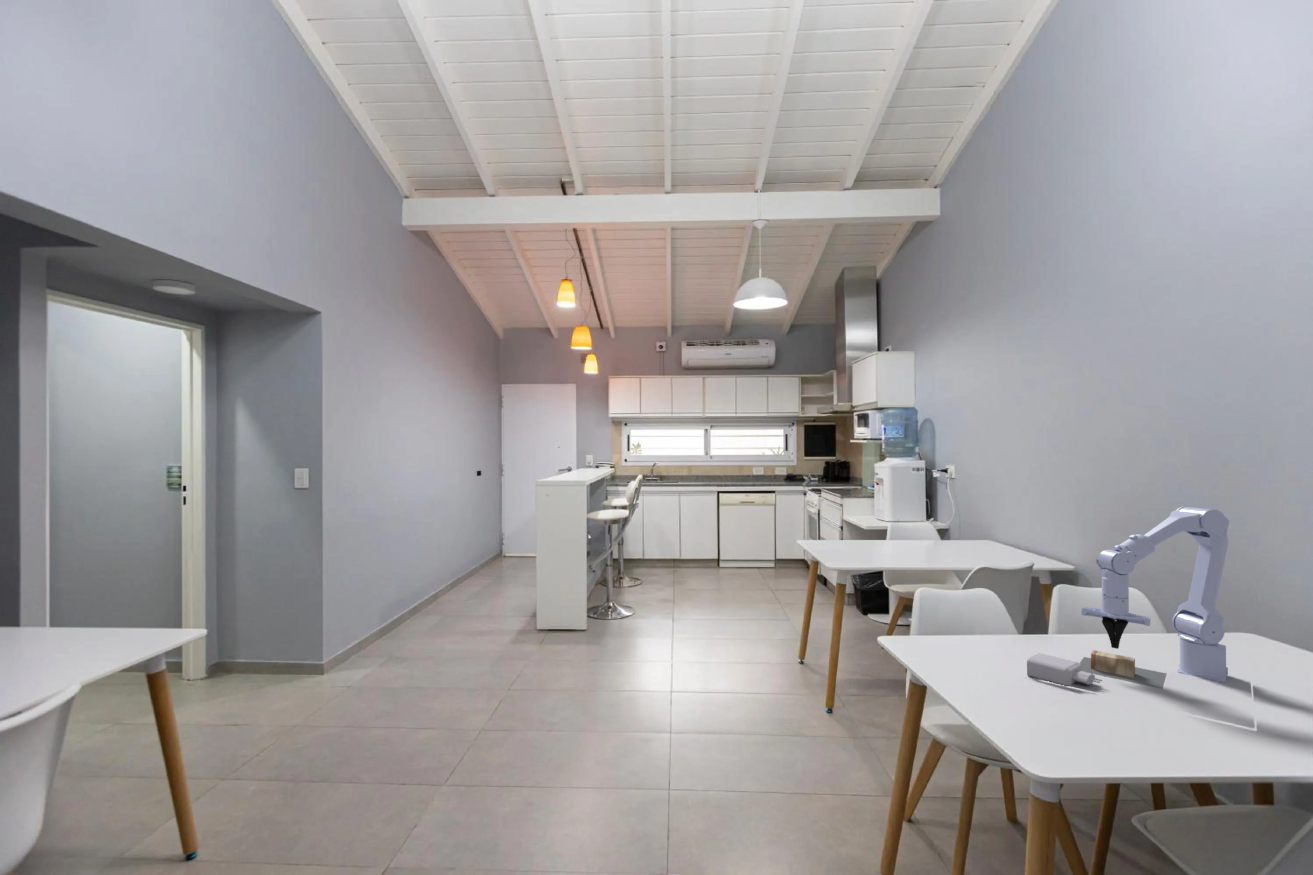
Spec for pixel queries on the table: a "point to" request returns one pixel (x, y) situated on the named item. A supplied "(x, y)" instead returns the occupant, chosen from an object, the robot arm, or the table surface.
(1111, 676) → the rubber mat
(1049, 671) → the charger
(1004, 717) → the table surface
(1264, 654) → the table surface
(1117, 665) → the maple block
